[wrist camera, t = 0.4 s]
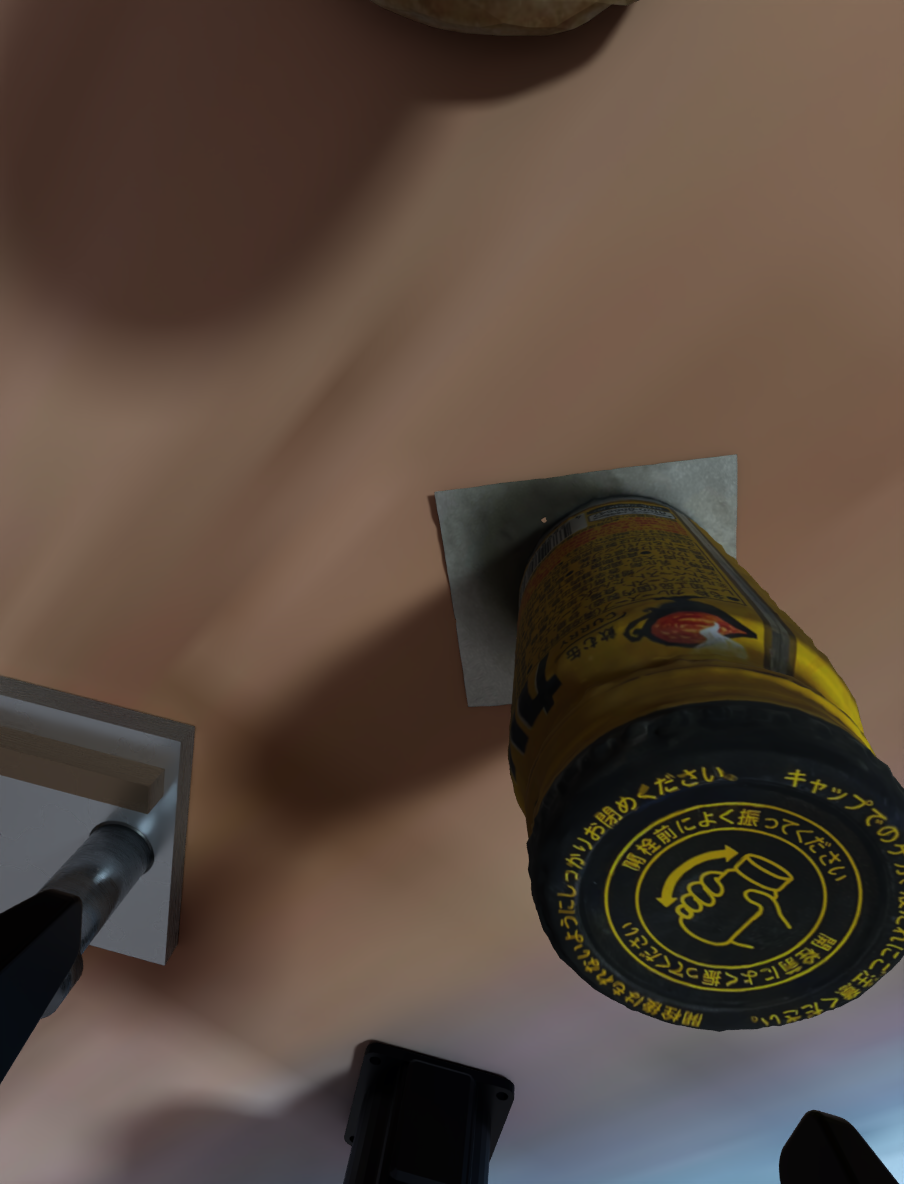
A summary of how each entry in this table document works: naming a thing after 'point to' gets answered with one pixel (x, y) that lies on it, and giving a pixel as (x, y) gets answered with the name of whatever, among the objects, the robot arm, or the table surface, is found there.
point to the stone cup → (501, 14)
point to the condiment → (675, 749)
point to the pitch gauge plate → (95, 817)
